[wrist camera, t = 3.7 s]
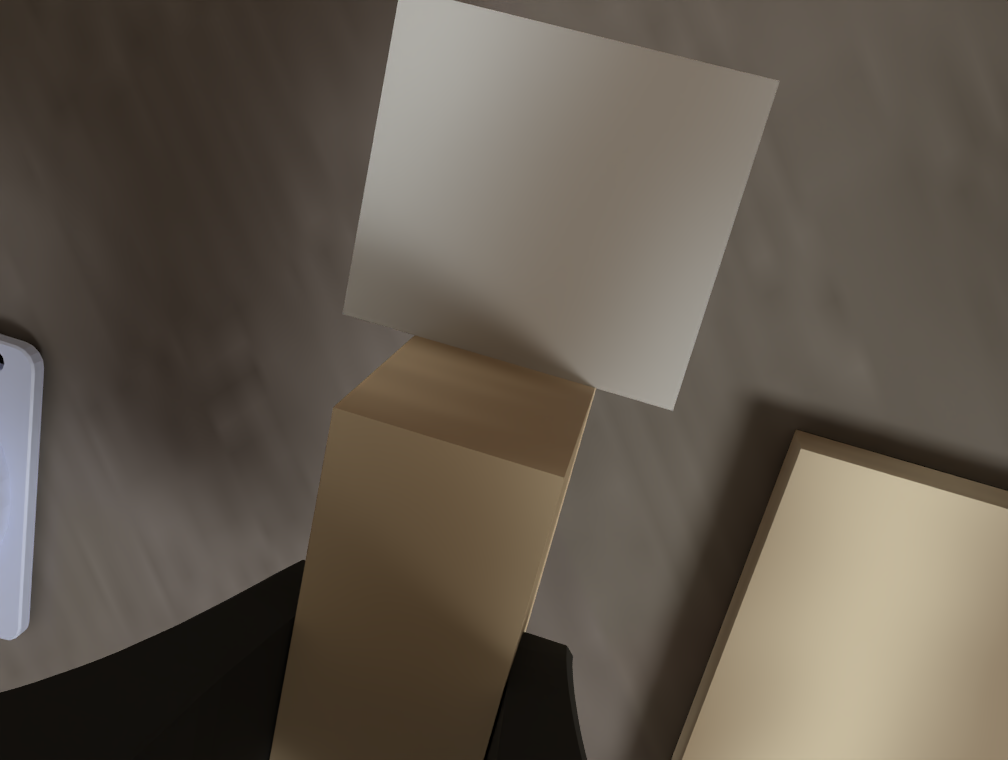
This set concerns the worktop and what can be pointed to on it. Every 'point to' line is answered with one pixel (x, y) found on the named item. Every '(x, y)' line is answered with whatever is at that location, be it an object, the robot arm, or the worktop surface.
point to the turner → (497, 351)
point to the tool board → (863, 619)
